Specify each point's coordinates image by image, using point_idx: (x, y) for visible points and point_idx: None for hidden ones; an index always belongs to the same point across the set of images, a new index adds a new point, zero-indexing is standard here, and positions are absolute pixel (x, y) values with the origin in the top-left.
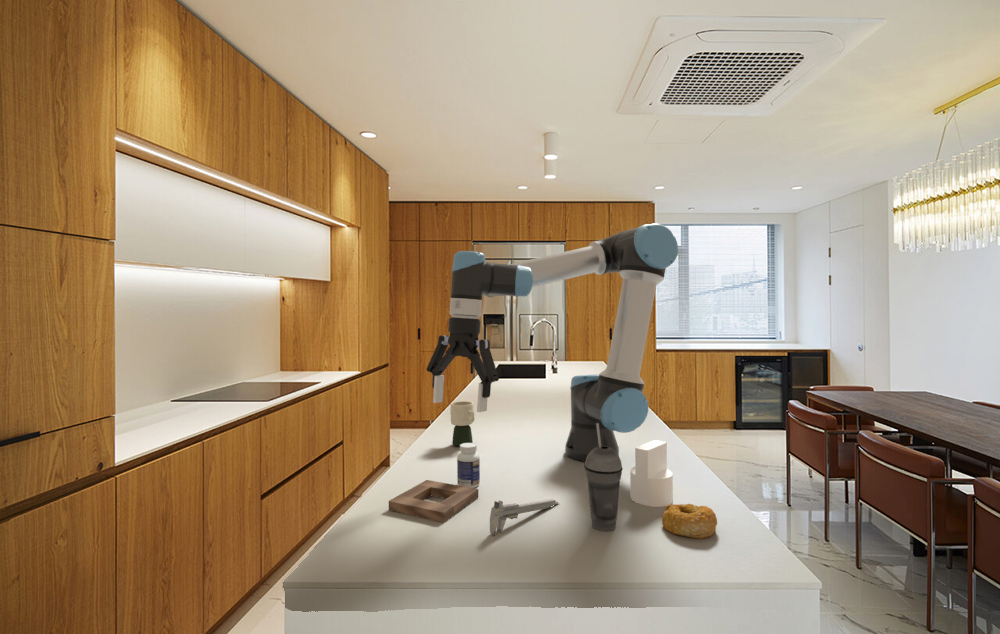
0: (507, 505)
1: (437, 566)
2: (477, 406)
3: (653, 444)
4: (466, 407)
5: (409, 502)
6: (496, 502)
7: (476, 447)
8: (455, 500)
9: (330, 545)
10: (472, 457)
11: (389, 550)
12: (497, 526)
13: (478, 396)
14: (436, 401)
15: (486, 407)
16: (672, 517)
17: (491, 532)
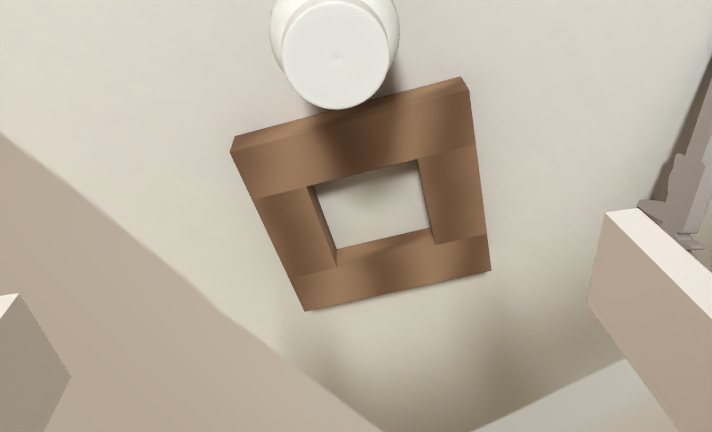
0: (698, 211)
1: (587, 349)
2: (616, 339)
3: None
4: None
5: (359, 286)
6: None
7: (377, 18)
8: (463, 205)
9: (361, 408)
10: (390, 62)
11: (468, 367)
12: (645, 211)
13: (685, 426)
14: (57, 374)
15: (659, 234)
16: None
17: None
